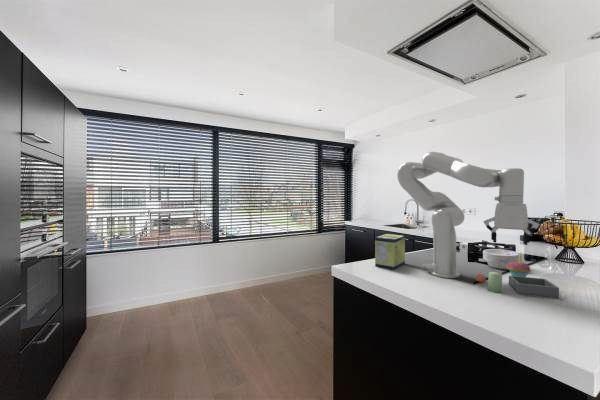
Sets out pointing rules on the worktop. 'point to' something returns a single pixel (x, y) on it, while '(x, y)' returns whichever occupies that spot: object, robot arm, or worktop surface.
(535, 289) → the bin
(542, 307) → the worktop surface
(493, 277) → the cucumber chunk
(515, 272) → the cupcake
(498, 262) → the paper bowls
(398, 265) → the protein box
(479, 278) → the tomato ball
